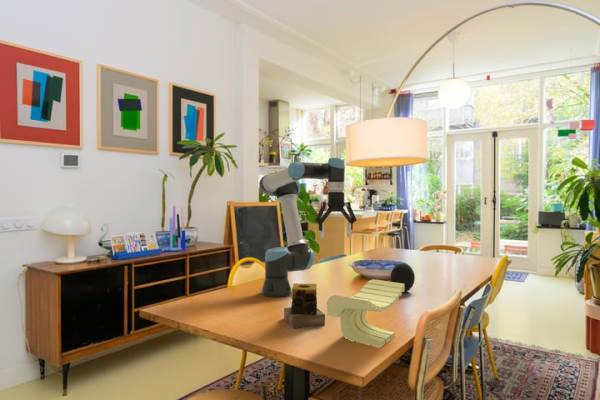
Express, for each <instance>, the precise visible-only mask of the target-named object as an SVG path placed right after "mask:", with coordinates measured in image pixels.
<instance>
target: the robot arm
mask: <svg viewBox="0 0 600 400" xmlns="http://www.w3.org/2000/svg"><path fill="white" fill-rule="evenodd" d="M327 161H328V162H325V163H322V162H320V163H319V162H301V161H292V162H290V163H289V164H288V166H287V168H284V169H282V170H279V171H277V172H275V173H267V174H264V175H263V176H262V177H261V178H260V179H259V184H258V187H259V189H260V191H261V192H262V193H263V194H264V195H266V196H269V197H276V199H277V201H278V202H279V203H280V206H281V211H282V212H281V213H282V218H283V222H284V223H283V224H284V228H285V232H286V238H287V246H279V247H278V246H277V247H272V248H270V249H267V250H266V251H265V253H264V254H265V257H264V267H265V268H264V271H265V272H264V274H265V275H264V276H265V279H264V281H263V285H262V288H261V295H262V296H264V297H271V298H279V297H280V298H281V297H287V296H290V295H292V286H291V285H290V281H289V278H288V277H289V273H291V272H300V271H301V272H302V271H306V270H309V269H311V268H312V267H313V265H314V262H315V253H314V250H313V249H312V247H309V246H308V242H306V241H305V240H304V239H305V238H304V234H303V230H302V224H301V219H300V213H299V210H298V204H297V199H298V198H299V197H298V196H299V194H300V192H301V183H300V180H304V179H310V180H312V179H313V180H315V179H316V180H327V191H328V192H327V202H325V201H321V203H320V204H321V205H320V208H319V209H318V210H319V211H318V213H317V214H316V217H315V218H314V222H315V223H317V224H318V231H320V234H319V237H320V239H325V223H324V222H325V221H326V220H327V218H328V217H329V216H330V215H331V214H332V212H333V213H335V212H339V213H341V214H342V215H343V217H344V218H345V219H346V220H347V222H346V237H347V238H352V230H353V227H354V223H355V222H357V221H358V220H357V217H356V216H355V213H354V210H353V209H352V205H351V201H345V177H346V176H345V174H346V173H345V172H346V171H345V169H346V165H345V164H346V163H345V159H344V158H343V157H330V158H328V160H327ZM326 207H328V208H327V209H326ZM344 207H345V208H346V209H345V208H344ZM325 210H326V211H325ZM346 210H347V211H348V212H347V211H346Z"/></svg>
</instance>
